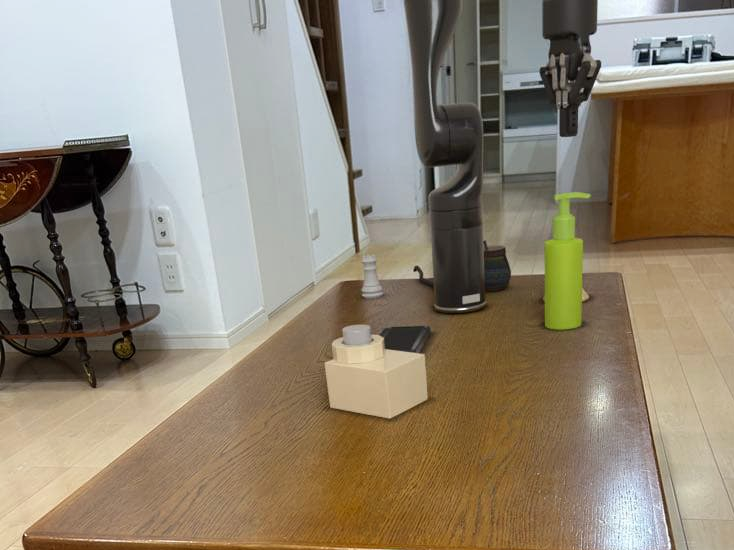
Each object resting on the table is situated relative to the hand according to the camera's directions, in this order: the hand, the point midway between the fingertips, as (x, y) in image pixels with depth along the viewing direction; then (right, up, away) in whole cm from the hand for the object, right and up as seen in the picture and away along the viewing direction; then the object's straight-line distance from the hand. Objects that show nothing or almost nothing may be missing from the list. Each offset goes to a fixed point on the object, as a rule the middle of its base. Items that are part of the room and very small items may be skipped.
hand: (568, 136), depth 122 cm
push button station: (-27, -42, -15) cm, 52 cm away
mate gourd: (-7, -10, +42) cm, 43 cm away
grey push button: (-30, -35, -17) cm, 49 cm away
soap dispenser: (+2, -25, +13) cm, 28 cm away
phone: (-25, -29, +10) cm, 39 cm away
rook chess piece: (-31, -10, +45) cm, 56 cm away
